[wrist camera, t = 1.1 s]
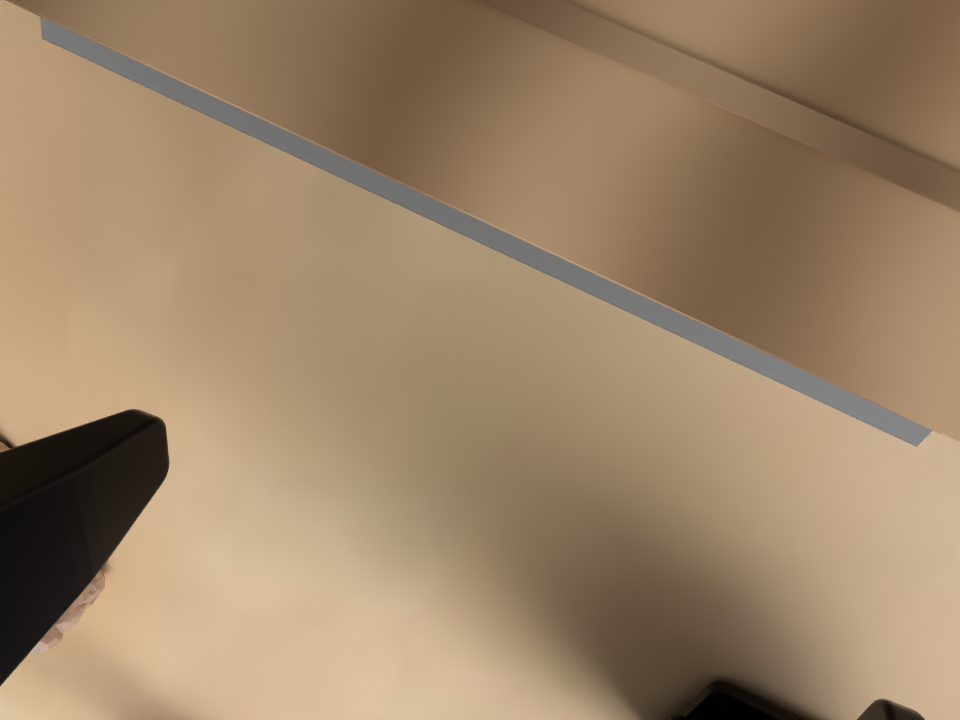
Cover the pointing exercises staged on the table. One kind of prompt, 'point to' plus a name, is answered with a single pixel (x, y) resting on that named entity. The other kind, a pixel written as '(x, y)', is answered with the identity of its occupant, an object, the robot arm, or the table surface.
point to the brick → (72, 612)
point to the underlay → (490, 236)
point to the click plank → (641, 147)
